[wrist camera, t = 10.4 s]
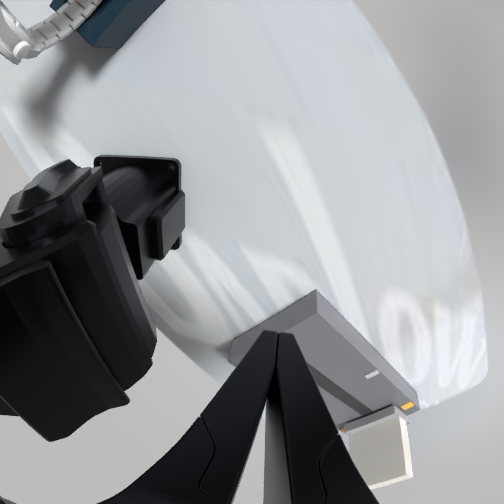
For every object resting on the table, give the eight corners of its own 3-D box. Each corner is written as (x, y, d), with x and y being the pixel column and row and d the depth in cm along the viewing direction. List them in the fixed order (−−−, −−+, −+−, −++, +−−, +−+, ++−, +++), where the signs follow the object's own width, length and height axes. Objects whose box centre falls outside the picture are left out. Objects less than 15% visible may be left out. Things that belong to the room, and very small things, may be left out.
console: (233, 339, 26) (227, 362, 24) (316, 289, 22) (317, 313, 20) (351, 419, 32) (351, 437, 30) (416, 391, 28) (420, 410, 26)
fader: (344, 424, 28) (344, 489, 21) (393, 404, 25) (402, 473, 18) (361, 434, 29) (363, 493, 22) (407, 416, 26) (415, 478, 20)
